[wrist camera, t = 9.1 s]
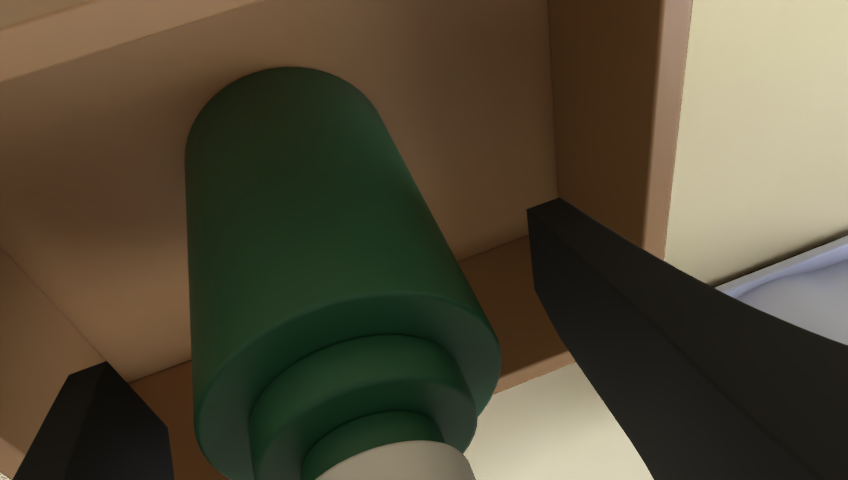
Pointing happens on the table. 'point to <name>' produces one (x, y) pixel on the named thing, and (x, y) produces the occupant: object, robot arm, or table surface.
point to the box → (399, 110)
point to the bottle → (324, 294)
